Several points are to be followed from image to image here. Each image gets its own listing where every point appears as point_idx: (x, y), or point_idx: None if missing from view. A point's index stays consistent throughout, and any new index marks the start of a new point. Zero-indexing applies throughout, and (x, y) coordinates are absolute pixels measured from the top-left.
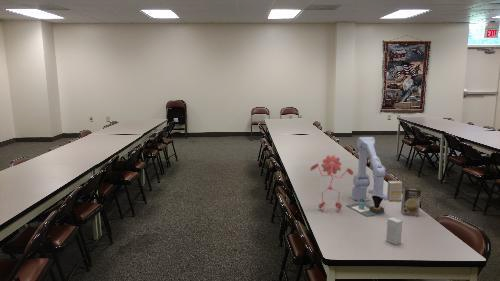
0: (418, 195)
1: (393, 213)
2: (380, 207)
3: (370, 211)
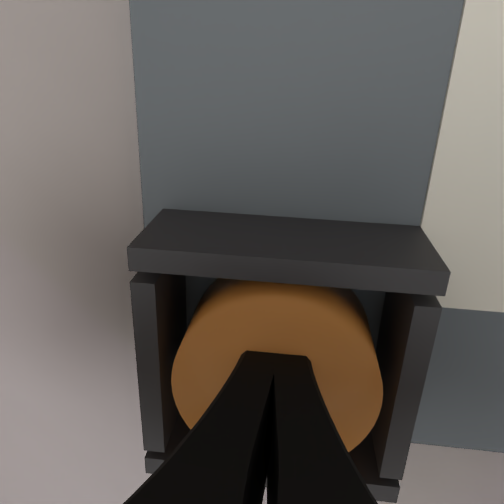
0: None
1: (114, 500)
2: None
3: (354, 198)
